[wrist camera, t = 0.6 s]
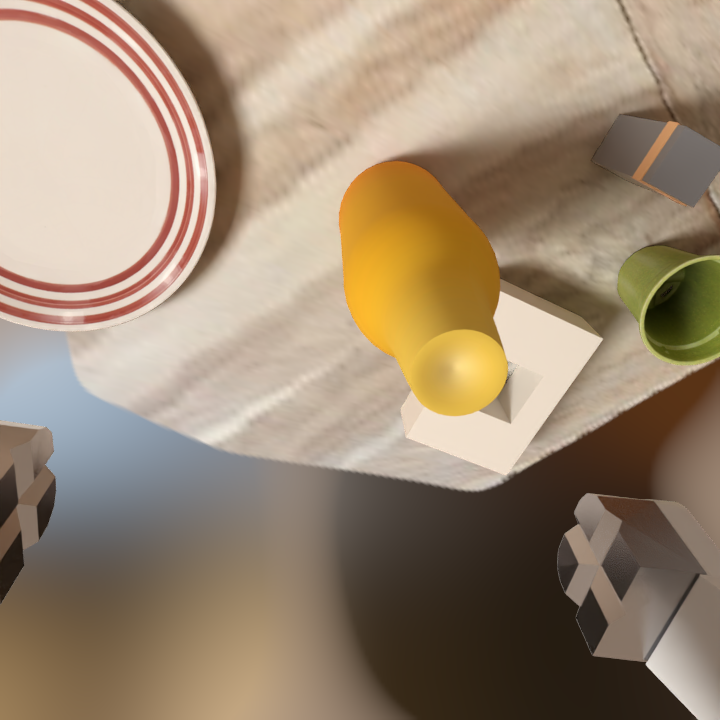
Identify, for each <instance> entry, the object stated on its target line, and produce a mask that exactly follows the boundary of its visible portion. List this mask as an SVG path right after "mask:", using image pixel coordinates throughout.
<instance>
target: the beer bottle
mask: <svg viewBox="0 0 720 720" xmlns="http://www.w3.org/2000/svg"><path fill="white" fill-rule="evenodd" d="M339 227H340V233H341V245H342V260H343V274H344V290H345V296H346V301H347V305H348V307H349V310H350V312H351V315H352V317H353V319H354V321H355V323H356V324H357V326H358V327H359V329H360V330H361V332H362V333H363V334H364V335H365V336H366V337H367V338H368V340H369V341H370V342H371V343H372V344H373V345H375V346H376V347H377V348H379V349H380V350H382V351H383V352H385V353H387V354H388V355H391V356H393V357H395V358H396V359H397V361H398V363H399V365H400V367H401V370H402V372H403V374H404V376H405V378H406V380H407V382H408V384H409V386H410V387H411V389H412V391H413V393H414V395H415V396H416V398H417V399H418V401H419V402H420V403H421V404H422V405H423V406H425V407H426V408H427V409H429V410H431V411H433V412H435V413H437V414H441V415H445V416H463V415H467V414H472V413H474V412H476V411H479V410H481V409H483V408H484V407H486V406H487V405H489V404H490V403H491V402H492V401H493V400H494V399H495V398H496V397H497V396H498V395H499V393H500V392H501V390H502V388H503V387H504V384H505V382H506V379H507V373H508V363H507V359H506V355H505V352H504V348H503V345H502V342H501V339H500V336H499V333H498V330H497V327H496V325H495V322H494V319H493V317H494V314H495V311H496V309H497V305H498V302H499V295H500V272H499V267H498V263H497V259H496V256H495V253H494V251H493V249H492V247H491V245H490V243H489V241H488V239H487V237H486V236H485V234H484V233H483V232H482V231H481V229H480V228H479V227H478V225H477V224H476V223H475V222H473V221H472V220H471V218H470V217H469V216H468V215H467V214H466V213H465V212H464V211H463V210H462V208H461V207H460V206H459V205H458V204H457V203H456V202H455V201H454V200H453V198H452V197H451V196H450V195H449V194H448V193H447V192H446V191H445V190H444V188H443V187H442V186H441V184H440V183H439V182H438V180H437V179H436V178H435V177H434V176H433V175H431V174H430V173H429V172H428V171H427V170H425V169H423V168H421V167H419V166H417V165H414V164H411V163H408V162H401V161H390V162H384V163H380V164H376V165H374V166H372V167H370V168H368V169H366V170H365V171H364V172H362V173H361V174H360V175H358V176H357V177H356V179H355V180H354V181H353V182H352V183H351V184H350V186H349V188H348V189H347V191H346V192H345V195H344V197H343V200H342V202H341V207H340V212H339Z"/></svg>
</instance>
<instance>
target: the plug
mask: <svg viewBox="0 0 720 720" xmlns="http://www.w3.org/2000/svg"><path fill="white" fill-rule="evenodd" d="M591 161H592V162H594V163H596V164H597V165H599V166H601V167H603V168H605V169H607V170H608V171H610V172H612V173H614V174H616V175H618V176H619V177H621V178H623V179H625V180H627V181H628V182H631V183H633V184H636V185H638V186H641V187H643V188H646V189H648V190H651V191H653V192H656V193H658V194H661V195H663V196H666V197H668V198H669V199H671V200H673V201H675V202H677V203H679V204H681V205H684V206H687V205H688V206H691V207H693V208H694V206H695V205H696V203H697V202H698V200H699V199H700V198H701V196H702V195H703V193H704V192H705V191H706V189H707V188H708V186H709V185H710V184H711V182H712V181H713V179H714V178H715V176H716V175H717V174H718V172H719V171H720V146H719V145H717V144H715V143H714V142H712V141H710V140H709V139H707V138H705V137H704V136H702V135H700V134H699V133H697V132H695V131H693V130H692V129H690V128H688V127H687V126H683V125H681V124H679V123H678V122H672V121H668V123H666V122H660V121H655V120H649V119H644V118H638V117H633V116H627V115H622V114H619V116H618V117H617V119H616V121H615V122H614V124H613V126H612V127H611V129H610V130H609V132H608V134H607V135H606V137H605V139H604V140H603V142H602V143H601V145H600V147H599V148H598V150H597V152H596V153H595V155H594V156H593V158H592V160H591Z"/></svg>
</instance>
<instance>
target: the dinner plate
mask: <svg viewBox="0 0 720 720" xmlns="http://www.w3.org/2000/svg"><path fill="white" fill-rule="evenodd" d="M215 204H216V171H215V162H214V155H213V150H212V146H211V141H210V138H209V134H208V131H207V127H206V124H205V121H204V118H203V116H202V113H201V110H200V108H199V106H198V103H197V101H196V99H195V97H194V95H193V93H192V91H191V89H190V87H189V85H188V84H187V82H186V80H185V79H184V77H183V75H182V74H181V72H180V70H179V69H178V67H177V66H176V64H175V63H174V61H173V60H172V59H171V57H170V56H169V55H168V53H167V52H166V51H165V49H164V48H163V47H162V46H161V45H160V43H159V42H158V41H157V40H156V39H155V38H154V36H153V35H152V34H151V33H150V32H149V31H148V30H147V29H146V28H145V27H144V26H143V25H142V24H141V23H140V22H139V21H138V20H137V19H136V18H135V17H134V16H133V15H132V14H131V13H129V12H128V11H127V10H126V9H125V8H123V7H122V6H121V5H120V4H119V3H117V2H116V1H115V0H0V318H2V319H5V320H8V321H11V322H13V323H17V324H21V325H25V326H29V327H34V328H39V329H46V330H55V331H89V330H98V329H104V328H109V327H113V326H116V325H119V324H123V323H126V322H129V321H131V320H133V319H136V318H138V317H140V316H142V315H144V314H146V313H148V312H149V311H151V310H153V309H154V308H156V307H157V306H159V305H160V304H162V303H163V302H164V301H165V300H166V299H168V298H169V297H170V296H171V295H172V294H173V293H174V292H175V291H176V290H177V289H178V288H179V287H180V286H181V285H182V284H183V283H184V281H185V280H186V279H187V278H188V277H189V275H190V274H191V272H192V271H193V269H194V268H195V266H196V264H197V263H198V261H199V259H200V257H201V255H202V253H203V251H204V249H205V246H206V244H207V241H208V238H209V235H210V231H211V227H212V223H213V219H214V212H215Z"/></svg>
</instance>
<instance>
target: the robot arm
mask: <svg viewBox="0 0 720 720" xmlns="http://www.w3.org/2000/svg"><path fill="white" fill-rule="evenodd" d="M53 452H54V448H53V439H52V433H51V431H50V430H49V429H48V428H47V427H42V426H36V425H28V424H22V423H15V422H7V421H0V604H1V603H2V601H3V600H4V598H5V596H6V595H7V593H8V591H9V590H10V588H11V586H12V585H13V583H14V581H15V580H16V578H17V576H18V575H19V573H20V572H21V570H22V568H23V567H24V556H23V550H24V549H26V548H28V547H29V546H31V545H33V544H35V543H36V542H38V541H39V540H40V538H41V536H42V535H43V533H44V531H45V529H46V527H47V526H48V523H49V520H50V517H51V514H52V511H53V508H54V503H55V494H56V479H55V476H54V475H53V473H52V472H51V471H50V470H49V469H48V468H47V466H46V465H45V464H46V463H47V461H48V459H49V458H50V457H51V455H52V454H53ZM574 514H575V516H576V519H577V522H578V525H576V526H575V527H573V528H572V529H571V530H569V531H568V532H566V533H565V534H564V537H563V539H562V542H561V544H560V547H559V549H558V564H557V568H558V573H559V579H560V582H561V584H562V587H563V589H564V592H565V594H567V595H568V596H569V597H570V598H571V599H572V600H573V601H574V602H576V603H577V604H578V605H579V606H580V607H579V610H578V613H577V615H576V619H577V622H578V624H579V626H580V628H581V631H582V633H583V635H584V637H585V640H586V642H587V644H588V647H589V649H590V651H591V653H592V655H593V656H599V657H608V658H616V659H625V660H634V661H642V662H647V663H646V666H647V667H648V668H649V669H650V670H652V672H653V673H654V674H655V675H656V676H657V677H658V678H659V679H660V680H661V681H662V682H663V683H664V684H665V685H666V686H667V687H668V689H670V691H671V692H672V693H673V694H674V695H675V696H676V697H677V698H678V699H679V700H680V701H681V702H682V703H683V704H684V705H685V706H686V707H687V708H688V709H689V710H690V711H691V713H692V714H693V715H694V716H695V717H696V718H697V719H698V720H720V550H719V549H718V547H717V546H716V545H715V544H714V542H713V541H712V540H711V539H710V538H709V536H708V535H707V534H706V532H705V531H704V530H703V528H702V527H701V526H700V525H699V523H698V522H697V521H696V520H695V518H694V517H693V516H692V514H691V513H690V512H689V511H688V509H687V508H686V507H684V506H683V505H681V504H679V503H678V502H672V501H662V500H651V499H646V500H641V499H632V498H623V497H615V496H606V495H598V494H589V493H587V494H586V495H585V496H584V497H583V498H582V499H581V500H580V501H579V503H578V506H577V507H576V510H575V512H574Z"/></svg>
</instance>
